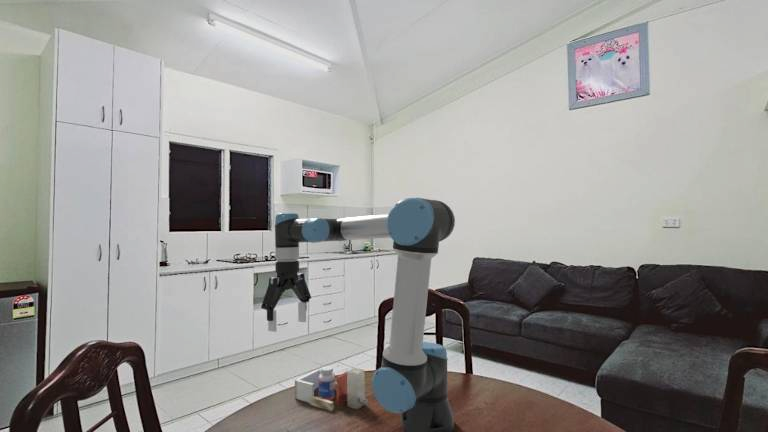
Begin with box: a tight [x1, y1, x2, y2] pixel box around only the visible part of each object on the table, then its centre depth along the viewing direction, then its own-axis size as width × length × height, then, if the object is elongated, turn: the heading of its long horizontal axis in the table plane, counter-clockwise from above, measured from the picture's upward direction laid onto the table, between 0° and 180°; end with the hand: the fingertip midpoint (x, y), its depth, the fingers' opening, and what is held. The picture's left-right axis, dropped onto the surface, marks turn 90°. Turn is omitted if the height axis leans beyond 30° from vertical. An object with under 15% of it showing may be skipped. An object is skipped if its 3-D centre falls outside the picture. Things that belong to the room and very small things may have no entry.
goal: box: [294, 368, 336, 404], centre depth 133 cm, size 8×12×6 cm, turn 149°
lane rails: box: [309, 381, 337, 412], centre depth 129 cm, size 9×14×2 cm, turn 149°
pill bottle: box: [318, 365, 336, 401], centre depth 130 cm, size 6×5×10 cm
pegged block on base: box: [336, 367, 369, 410], centre depth 125 cm, size 10×6×11 cm, turn 59°
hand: (288, 326), depth 125 cm, fingers open, 13 cm apart
